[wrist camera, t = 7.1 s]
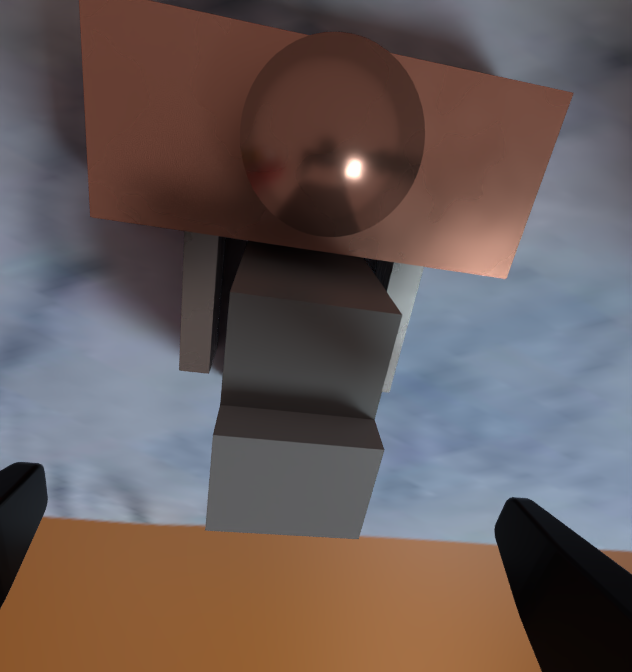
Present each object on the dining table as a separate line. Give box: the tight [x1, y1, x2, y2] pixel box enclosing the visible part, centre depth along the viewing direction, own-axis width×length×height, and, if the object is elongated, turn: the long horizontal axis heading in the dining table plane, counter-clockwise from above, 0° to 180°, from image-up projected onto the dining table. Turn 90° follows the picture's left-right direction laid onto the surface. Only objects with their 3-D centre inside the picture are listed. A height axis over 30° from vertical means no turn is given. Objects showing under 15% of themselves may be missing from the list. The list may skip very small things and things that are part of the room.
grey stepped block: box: [205, 241, 402, 539], centre depth 13 cm, size 4×6×7 cm, turn 171°
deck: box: [79, 0, 573, 393], centre depth 13 cm, size 12×10×4 cm
